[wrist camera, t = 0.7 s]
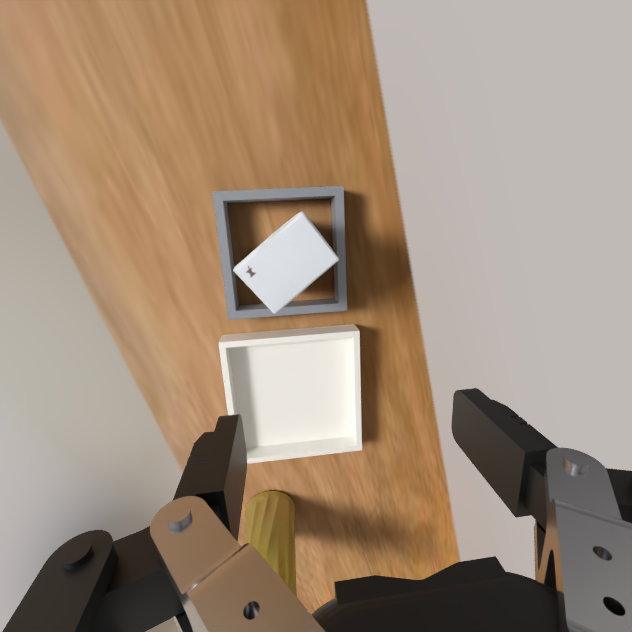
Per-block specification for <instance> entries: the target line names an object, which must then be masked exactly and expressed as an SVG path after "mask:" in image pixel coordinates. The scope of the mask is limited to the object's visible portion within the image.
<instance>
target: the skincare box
mask: <svg viewBox="0 0 632 632" xmlns="http://www.w3.org/2000/svg"><path fill="white" fill-rule="evenodd" d="M338 261H339V258H338V256H337V255H336V254H335V252H334V251H333V250H332V248H331V247H330V246H329V244H328V243H327V242H326V240H325V239H324V238H323V236H322V235H321V234H320V232H319V231H318V230H317V228H316V227H315V226H314V224H313V223H312V222H311V221H310V219H309V218H308V217H307V215H306V214H305V213H304V212H299V213H298V214H297V215H295V216H294V217H293V218H291V219H290V220H288V221H287V222H286V223H285V224H283V225H282V226H281V227H280V228H279V229H277V230H276V231H275V232H274V233H273V234H272V235H270V236H269V237H268V238H267V239H266V240H265V241H264V242H262V243H261V244H260V245H259V246H258V247H257V248H256V249H254V250H253V251H252V252H251V253H250V254H249V255H248V256H247V257H246V258H244V259H243V260H242V261H241V262H240V263H239V264H237V265H236V266H235V268H234V269H233V271H234V272H235V273H236V274H237V275H238V276H239V277H240V279H241V280H242V281H243V282H244V283H245V284H246V285H247V286H248V287H249V288H250V289H251V290H252V291H253V292H254V293H255V294H256V296H257V297H258V298H259V299H260V300H261V301H262V302H263V303H264V304H265V305H266V306H267V307H268V308H269V309H270V311H271V312H272V313H273V314H276V313H277V312H279V311H280V310H281V309H282V308H283V307H285V306H286V305H287V304H288V303H290V302H291V301H292V300H293V299H294V298H296V297H297V296H298V295H299V294H300V293H301V292H303V291H304V290H305V289H306V288H307V287H308V286H309V285H310V284H312V283H313V282H314V281H315V280H316V279H317V278H319V277H320V276H321V275H322V274H323V273H325V272H326V271H327V270H328V269H329V268H330V267H332V266H333V265H334V264H335V263H336V262H338Z"/></svg>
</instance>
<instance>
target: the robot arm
mask: <svg viewBox="0 0 632 632" xmlns="http://www.w3.org/2000/svg"><path fill="white" fill-rule="evenodd" d="M452 433H453V436H454V439H455V441H456V443H457V444H458V445H459V447H460V448H461V449H462V450H463V452H464V453H465V454H466V455H467V457H468V458H469V459H470V460H471V462H472V463H473V464H474V465H475V467H476V468H477V469H478V471H479V472H480V473H481V474H482V476H483V477H484V478H485V479H486V481H487V482H488V483H489V484H490V486H491V487H492V488H493V489H494V491H495V492H496V493H497V494H498V495H499V497H500V498H501V499H502V501H503V502H504V503H505V504H506V506H507V507H508V508H509V509H510V511H511V512H512V513H513V514H514V516H515V517H522V516H528V515H532V516H533V517H534V518H535V519H536V520H535V526H534V539H535V540H534V543H535V544H534V545H535V580H533V579H531V578H528V577H525V576H522V575H518V574H514V573H510V572H505V570H504V569H503V567H502V566H501V564H500V563H499V561H498V559H497V558H496V557H489V558H482V559H476V560H470V561H463V562H457V563H455V564H453V565H451V566H449V567H447V568H445V569H443V570H441V571H439V572H438V573H436V574H434V575H432V576H430V577H428V578H426V579H423V580H411V579H402V578H393V577H385V576H376V575H375V576H369V577H362V578H356V579H350V580H344V581H337V582H335V599H333V600H331V601H329V602H327V603H326V604H324V605H323V606H321V607H320V608H318V609H317V610H316V611H315V612H314V613H313V614H312V615H311V614H310V613H309V611H308V610H307V609H306V608H305V607H304V605H303V604H302V603H301V602H300V601H299V599H298V598H297V597H296V596H295V595H294V593H293V592H292V591H291V590H290V589H289V588H288V586H287V585H286V584H285V583H284V582H283V580H282V579H281V578H280V577H279V576H278V574H277V573H276V572H275V571H274V570H273V568H272V567H271V566H270V565H269V564H268V562H267V561H266V560H265V559H264V558H263V557H262V555H261V554H260V553H259V552H258V551H257V549H256V548H255V547H254V546H253V545H252V544H250V543H246V544H245V545H243V546H240V545H239V543H238V542H237V541H238V533H239V525H240V517H241V510H242V502H243V494H244V486H245V478H246V471H247V452H246V444H245V437H244V430H243V423H242V417H241V415H240V414H236V415H227V416H220V417H219V418H218V421H217V425H216V428H215V431H214V432H205V433H203V434H202V436H201V437H200V438H199V439H198V440H197V441H196V442H195V443H194V446H193V448H192V451H191V454H190V456H189V459H188V462H187V466H186V467H185V469H184V472H183V475H182V477H181V480H180V483H179V485H178V488H177V491H176V494H175V496H174V499H173V501H172V502H170V503H168V504H167V505H165V506H164V507H163V508H161V509H160V510H159V512H158V513H157V514H156V515H155V517H154V518H153V520H152V522H151V525H150V526H149V527H147V528H145V529H144V530H141V531H139V532H136V533H134V534H132V535H129V536H126V537H124V538H121V539H119V540H116V541H114V542H113V539H112V537H111V535H110V534H109V533H108V532H106V531H103V530H94V531H88V532H85V533H82V534H80V535H78V536H76V537H74V538H72V539H70V540H69V541H67V542H66V543H64V544H63V545H62V546H60V547H59V548H58V549H57V550H56V551H55V552H54V553H53V554H52V555H51V556H50V557H49V558H48V560H47V561H46V563H45V564H44V566H43V567H42V569H41V570H40V572H39V574H38V575H37V577H36V579H35V580H34V582H33V583H32V585H31V586H30V588H29V590H28V591H27V593H26V595H25V596H24V598H23V599H22V601H21V603H20V605H19V606H18V607H17V609H16V611H15V612H14V614H13V615H12V617H11V619H10V620H9V622H8V624H7V625H6V627H5V628H4V630H3V632H145V631H147V630H149V629H151V628H153V627H155V626H157V625H159V624H161V623H163V622H164V621H167V620H168V619H170V618H172V617H173V619H174V621H175V623H176V625H177V627H178V630H179V632H632V471H626V470H617V469H607V468H605V467H604V466H603V465H602V464H601V463H600V462H599V461H598V460H596V459H595V458H593V457H591V456H589V455H587V454H585V453H583V452H580V451H577V450H574V449H569V448H558V447H556V446H555V445H554V444H553V443H552V442H550V441H549V440H548V439H547V438H545V437H544V436H543V435H542V434H541V433H539V432H538V431H537V430H536V429H534V428H533V427H532V426H531V425H528V424H527V422H526V421H524V420H523V419H522V418H521V417H519V416H518V415H517V414H516V413H515V412H514V411H512V410H511V409H510V408H509V407H507V406H505V405H503V404H501V403H499V402H497V401H495V400H491V399H489V398H488V397H487V396H486V395H485V394H484V393H482V392H481V391H480V390H479V389H477V388H474V389H465V390H457V391H456V392H455V393H454V400H453V414H452Z"/></svg>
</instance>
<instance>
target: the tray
mask: <svg viewBox="0 0 632 632" xmlns="http://www.w3.org/2000/svg"><path fill="white" fill-rule="evenodd" d="M218 343H219V350H220V358H221V365H222V372H223V380H224V387H225V395H226V402H227V410H228V415H236V414H240V415H241V417H242V423H243V430H244V437H245V444H246V452H247V464H248V463H256V462H265V461H274V460H282V459H291V458H299V457H308V456H316V455H325V454H333V453H342V452H350V451H359V450H362V428H361V378H360V331H359V329H358V328H357V327H356V326H355V324H348V325H336V326H324V327H312V328H300V329H287V330H275V331H263V332H251V333H238V334H226V335H222V337H221V339H220V341H219V342H218Z"/></svg>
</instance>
